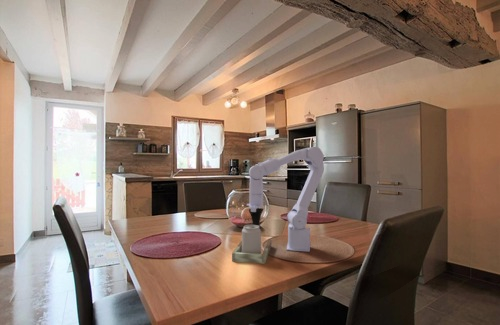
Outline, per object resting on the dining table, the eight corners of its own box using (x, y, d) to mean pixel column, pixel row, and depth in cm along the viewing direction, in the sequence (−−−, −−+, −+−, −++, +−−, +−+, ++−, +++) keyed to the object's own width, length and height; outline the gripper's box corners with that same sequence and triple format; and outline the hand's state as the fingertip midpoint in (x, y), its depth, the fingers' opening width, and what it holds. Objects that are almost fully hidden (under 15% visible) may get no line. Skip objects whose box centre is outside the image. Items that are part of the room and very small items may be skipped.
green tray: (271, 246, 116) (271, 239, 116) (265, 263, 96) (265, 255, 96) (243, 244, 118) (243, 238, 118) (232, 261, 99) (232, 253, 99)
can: (262, 254, 106) (262, 224, 106) (258, 261, 99) (259, 229, 99) (244, 252, 108) (244, 223, 108) (239, 259, 100) (239, 227, 100)
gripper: (250, 191, 120) (249, 221, 120) (243, 195, 106) (243, 229, 106) (265, 192, 119) (265, 222, 119) (260, 196, 104) (260, 230, 104)
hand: (256, 226), depth 112 cm, fingers closed
